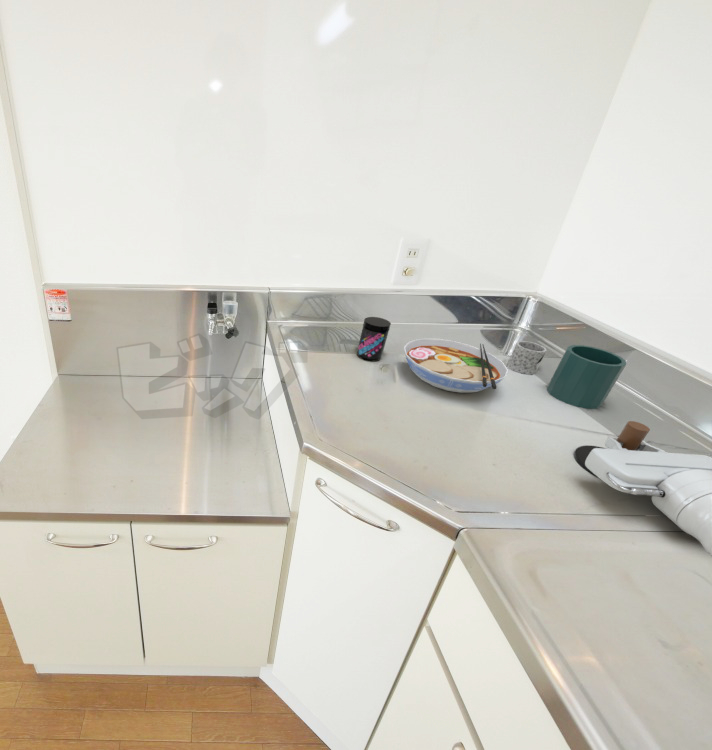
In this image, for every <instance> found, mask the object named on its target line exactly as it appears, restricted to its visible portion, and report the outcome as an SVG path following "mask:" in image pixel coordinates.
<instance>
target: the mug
mask: <svg viewBox="0 0 712 750" xmlns="http://www.w3.org/2000/svg"><path fill="white" fill-rule="evenodd" d="M546 352H547V348H546V347H545V346H543V345H541V344H539V343H537V342H532V341H527V340H519V341H516V344H515V346H514V348H513V350H512V353H511V355H510V357H509V359H508V362H507V363H506V367H507V368H509V369H510V370H511V371H514V372H516V373H519V374H522V375H535V374H536V373H537V371H538V369H539V367H540V364H541V363H542V361H543V359H544V356H545V354H546Z"/></svg>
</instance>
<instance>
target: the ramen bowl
mask: <svg viewBox="0 0 712 750" xmlns="http://www.w3.org/2000/svg"><path fill="white" fill-rule="evenodd" d="M482 348H483V349H482ZM403 350H404V354H405V355H404V356H405V359H406V362H407V365H408V366H409V368H410V370H411V371H412V373H414V374H415V376H417V377H418V378H419V379H420V380H421V381H422V382H425V383H426V384H429V385H430V386H432V387H435V388H437V389H440V390H444V391H447V392H453V393H460V394H462V393H463V394H464V393H468V394H469V393H477V392H481V391H483V390H486V389H489V388H490V387H491V389H492V390H497V387H498V386H497V384H499V383H500V382H502V381H503V380H504V379H505V378H506V377H507V375H508V372H509V369H508V366H507V365H506V364H505V363H504V361H502V360H501V359H500V358H498V357H496V356H495V355H493V354H492V353H490V352H488V351H486V349H485V345H484V344H482V343H479V347H476V346H474V345H470V344H467V343H463V342H460V341H455V340H450V339H444V338H443V339H442V338H437V337H435V338H434V337H433V338H427V337H426V338H425V337H423V338H417V339H413V340H409V341H408V342H407V343H406V344H405V345H404V346H403Z"/></svg>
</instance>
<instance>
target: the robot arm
mask: <svg viewBox="0 0 712 750" xmlns="http://www.w3.org/2000/svg"><path fill="white" fill-rule="evenodd" d="M623 445H624V443H623V442H622V441H620V439H618V437H607V438H606V440H605V442H604V446H605V448H606V449H603V448H604V447H602V448H594V449H592V451H591V452H590V454H589V455H588V457H587V458H586V461H585V466H586V467H587V468H588V469H589V470H590V471H591V472H593V473H594V474H595V475H596V476H597V478H598V477H599V478H598V479H600V480H601V481H603V482H604V483H605V484H606V485H607V486H609V487H611V488H613V489H614V490H616V491H618V492H621V493H625V494H630V495H633V496H648V497H651V502H652V504H653V505H654V506H655V507H656V508H657V509H658V510H659V511H660V512H661V513H663V515H665V516H666V517H667V518H668V519H669V521H670V520H671V521H672V522H673V523H674V524H675V525H676V526H677V527H678V528H679V529H681V531H683V532H685V533H686V534H687V535H690V536H692V537H693V538H695V540H697V541H698V542H699V543H700V545H701V546H702V548H703V549H704V550H705V552H707V553H708V555H710V556H711V557H712V456H710V455H706V454H692V453H680V452H679V453H678V452H667V451H666V450H664V449H662V448H659V447H657V446H654V445H652V444H650V443H648V442H647V441H645V439H644V440H643V441H642V442H641V444H640V445H639V447H638V448H637V450H636V451H634V450H627V449H626V448H622V446H623ZM595 475H594V476H595ZM596 476H595V477H596Z"/></svg>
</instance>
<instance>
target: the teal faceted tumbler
mask: <svg viewBox="0 0 712 750" xmlns="http://www.w3.org/2000/svg"><path fill="white" fill-rule="evenodd" d="M626 366H627V361H626V360H625V359H624V358H623V357H621V356H620V355H618V354H616V353H614V352H611V351H608V350H605V349H603V348H599V347H596V346H595V347H594V346H590V345H584V344H583V345H582V344H571V345H568V346H567V347H566V350H565V352H564V353H563V355H562V358H561V359H560V361H559V363H558V365H557V367H556V369H555V371H554V373H553V375H552V377H551V379H550V380H549V383H548V385H547V386H546V391H547V393H548V394H549V395H550V396H552V398H554V399H555V400H558V401H559V402H562V403H564V404H567V405H570V406H572V407H576V408H580V409H586V410H596V409H597V410H598V409H599V408H602V405H603V404H604V402H606V399H607V398H608V396H609V394H610V393H611V391H612V390H613V387H614V386H615V385H616V382H617V381H618V379H619V378H620V376H621V374H622V372H623V371H624V369H625V368H626Z"/></svg>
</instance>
